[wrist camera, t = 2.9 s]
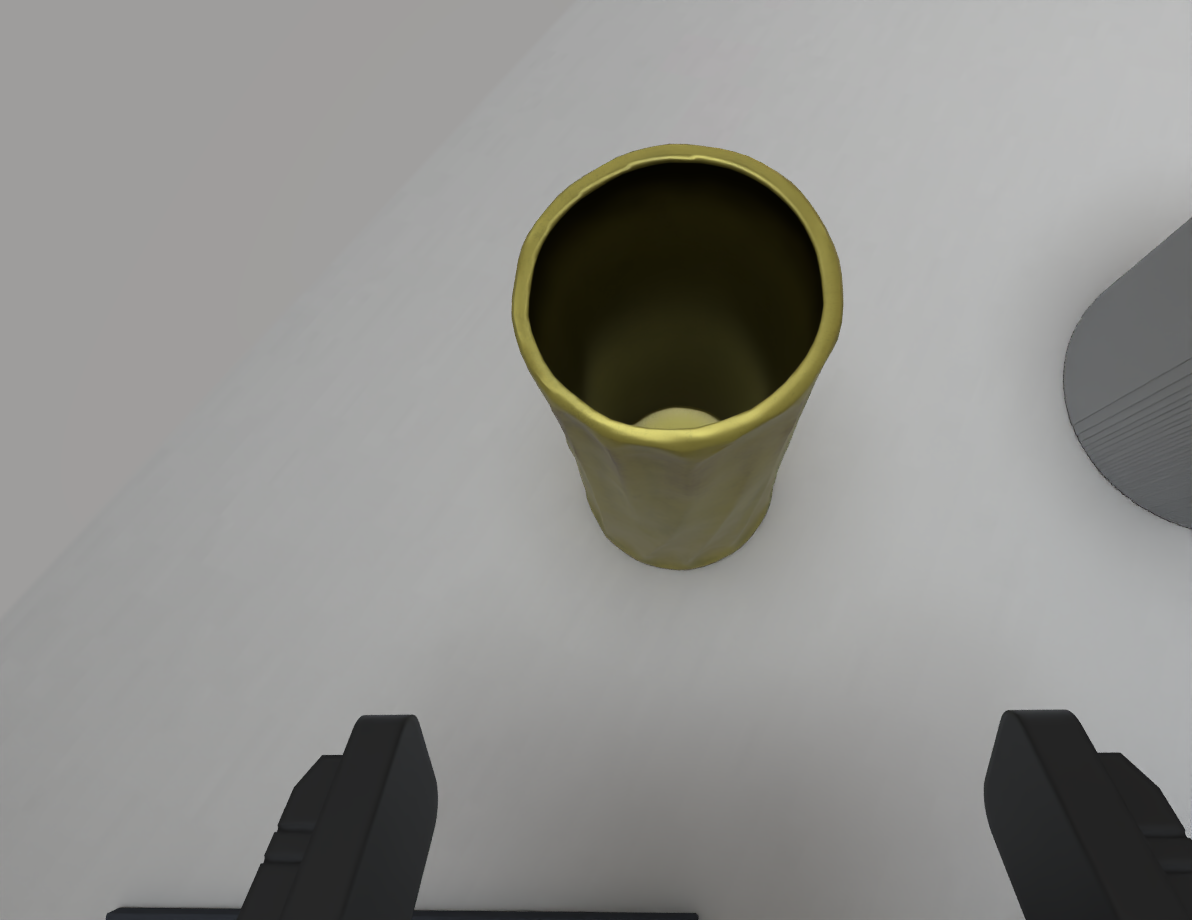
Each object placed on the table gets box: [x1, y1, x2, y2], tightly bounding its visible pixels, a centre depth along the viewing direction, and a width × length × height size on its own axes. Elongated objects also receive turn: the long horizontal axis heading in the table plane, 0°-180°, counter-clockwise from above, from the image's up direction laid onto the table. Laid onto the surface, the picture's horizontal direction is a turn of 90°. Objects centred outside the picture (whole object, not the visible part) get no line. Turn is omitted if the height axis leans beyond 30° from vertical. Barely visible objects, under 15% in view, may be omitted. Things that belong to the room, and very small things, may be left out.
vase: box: [512, 144, 843, 570], centre depth 19 cm, size 6×6×14 cm
